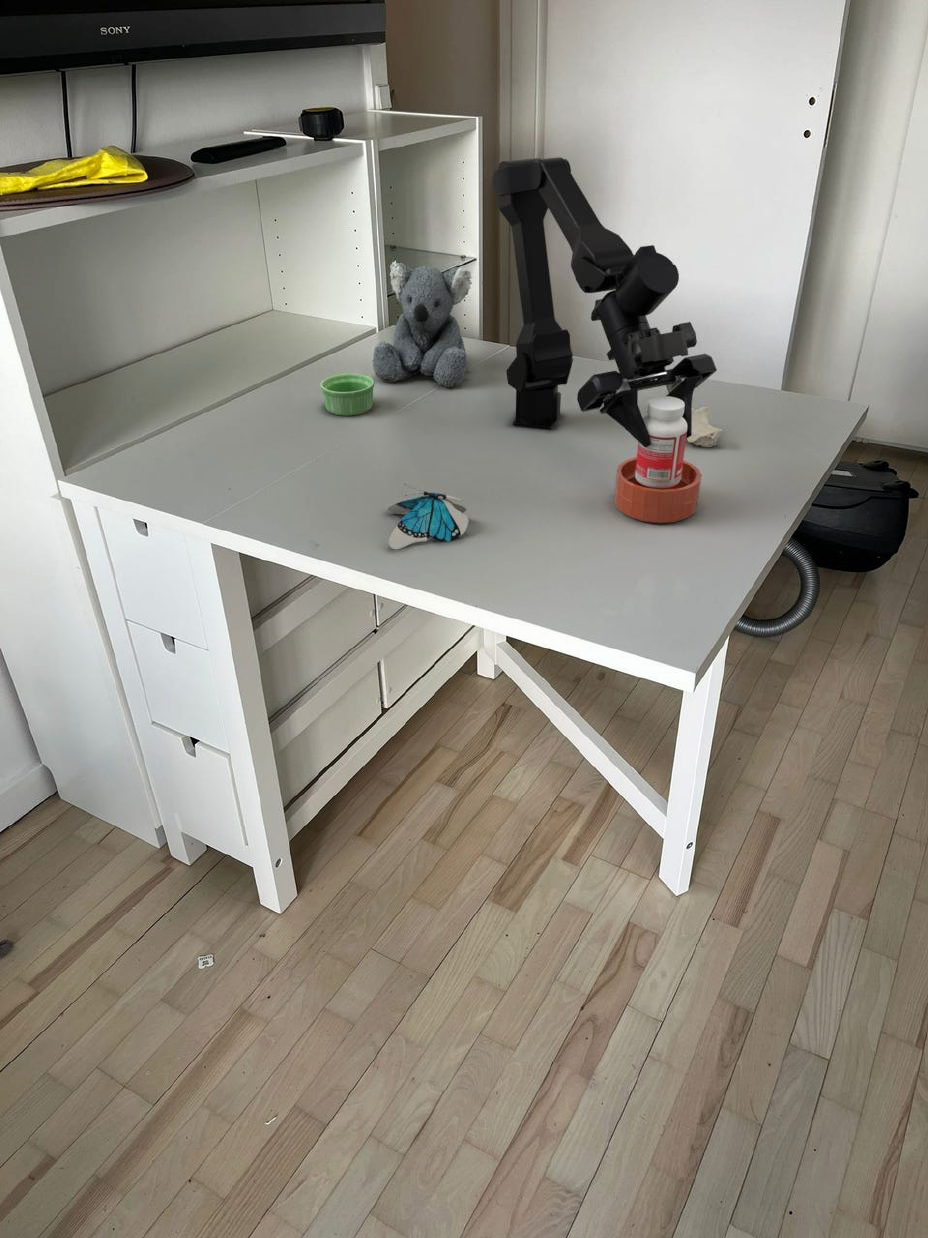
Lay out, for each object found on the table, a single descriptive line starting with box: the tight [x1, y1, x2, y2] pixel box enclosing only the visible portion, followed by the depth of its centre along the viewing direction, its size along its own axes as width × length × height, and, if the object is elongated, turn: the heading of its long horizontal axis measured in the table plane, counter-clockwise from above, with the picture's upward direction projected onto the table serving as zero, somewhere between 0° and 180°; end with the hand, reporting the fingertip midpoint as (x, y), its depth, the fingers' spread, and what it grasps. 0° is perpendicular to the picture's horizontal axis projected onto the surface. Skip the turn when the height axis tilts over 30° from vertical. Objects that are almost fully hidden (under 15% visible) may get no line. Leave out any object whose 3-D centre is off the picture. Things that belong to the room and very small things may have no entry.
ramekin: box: [320, 373, 375, 417], centre depth 162 cm, size 9×9×4 cm
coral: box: [686, 406, 723, 448], centre depth 150 cm, size 6×10×4 cm, turn 46°
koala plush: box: [372, 260, 473, 388], centre depth 173 cm, size 17×18×20 cm
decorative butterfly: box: [387, 483, 469, 550], centre depth 126 cm, size 10×6×10 cm
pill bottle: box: [635, 395, 687, 489], centre depth 127 cm, size 6×6×11 cm
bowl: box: [613, 456, 702, 524], centre depth 131 cm, size 11×11×5 cm
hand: (668, 441), depth 126 cm, fingers closed on pill bottle, 6 cm apart
